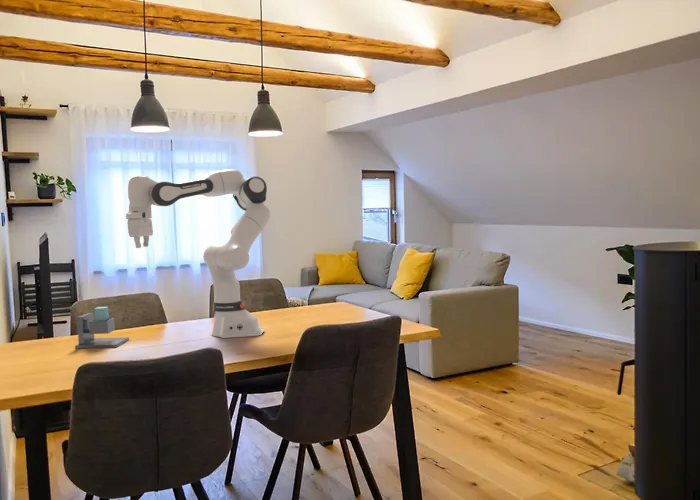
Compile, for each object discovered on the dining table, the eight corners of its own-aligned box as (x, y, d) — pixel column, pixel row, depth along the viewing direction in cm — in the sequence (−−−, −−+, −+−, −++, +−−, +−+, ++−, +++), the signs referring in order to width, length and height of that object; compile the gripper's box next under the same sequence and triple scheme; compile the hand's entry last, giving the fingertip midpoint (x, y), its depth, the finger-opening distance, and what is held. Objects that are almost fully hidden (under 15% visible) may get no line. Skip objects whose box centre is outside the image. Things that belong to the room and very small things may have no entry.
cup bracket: (129, 340, 236) (127, 311, 235) (116, 347, 222) (115, 316, 221) (90, 341, 236) (89, 312, 235) (75, 348, 222) (73, 317, 221)
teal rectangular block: (109, 328, 231) (108, 306, 230) (105, 330, 227) (104, 308, 226) (99, 328, 230) (98, 307, 230) (95, 330, 226) (94, 308, 226)
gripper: (141, 214, 247) (142, 246, 248) (124, 214, 227) (126, 248, 228) (155, 214, 248) (157, 245, 248) (140, 214, 227) (141, 248, 228)
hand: (142, 247), depth 238 cm, fingers open, 8 cm apart
